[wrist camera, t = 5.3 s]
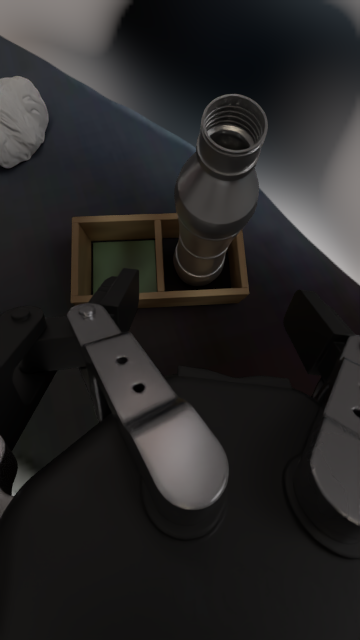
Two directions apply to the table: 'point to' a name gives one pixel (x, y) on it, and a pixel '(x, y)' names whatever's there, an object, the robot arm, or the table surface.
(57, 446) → the table surface
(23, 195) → the table surface
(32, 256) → the table surface
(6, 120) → the bust
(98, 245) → the brown open rectangular box
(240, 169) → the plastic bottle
